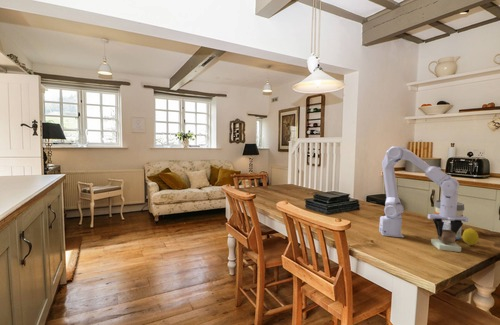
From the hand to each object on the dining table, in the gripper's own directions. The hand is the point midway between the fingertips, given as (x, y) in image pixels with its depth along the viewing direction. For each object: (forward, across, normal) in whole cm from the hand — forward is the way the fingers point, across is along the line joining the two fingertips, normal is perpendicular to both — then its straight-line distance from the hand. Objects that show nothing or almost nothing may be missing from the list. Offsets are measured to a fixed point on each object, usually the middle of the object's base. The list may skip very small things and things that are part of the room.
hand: (446, 236), depth 113 cm
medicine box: (+5, +8, +14) cm, 17 cm away
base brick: (+5, 0, 0) cm, 5 cm away
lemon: (+5, +12, +6) cm, 14 cm away
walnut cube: (+2, 0, 0) cm, 2 cm away
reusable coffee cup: (+5, +13, +28) cm, 31 cm away
